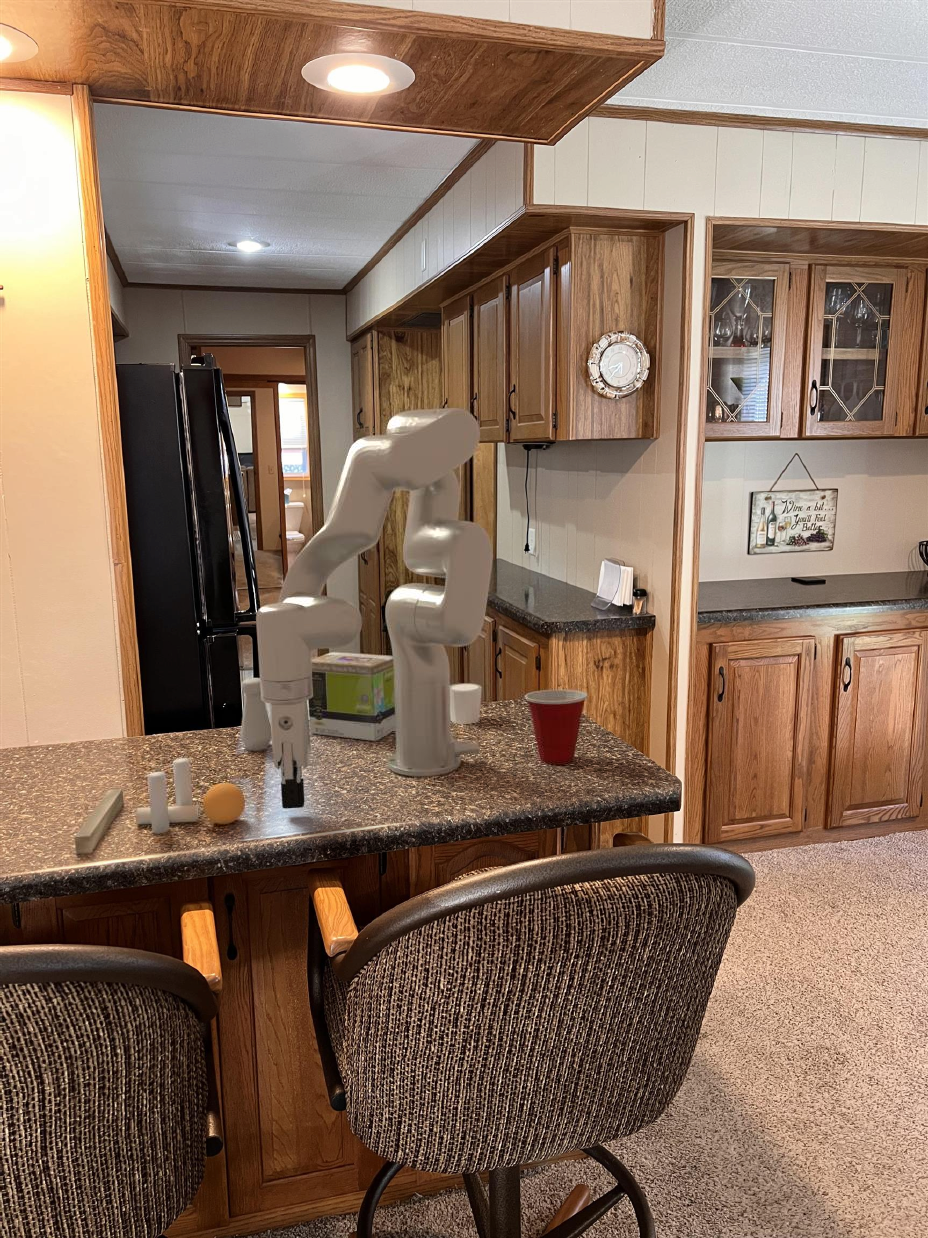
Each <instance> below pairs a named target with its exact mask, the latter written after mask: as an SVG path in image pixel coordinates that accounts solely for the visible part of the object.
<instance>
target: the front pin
mask: <svg viewBox="0 0 928 1238" xmlns="http://www.w3.org/2000/svg"><path fill="white" fill-rule="evenodd" d="M135 813H136V815H135V821H136V824H137V825H152V823H151V811H150V806H148V807H138V808H137V809H136V812H135ZM168 816H169V824H172V823H173V824H174V823H175V824H176V823H193V822H194V823H196V822H197V821H198V819H199V807H198V804H197V805H195V804H193V805H190V806H176V805H173V806H169V805H168Z"/></svg>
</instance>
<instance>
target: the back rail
mask: <svg viewBox="0 0 928 1238" xmlns="http://www.w3.org/2000/svg"><path fill="white" fill-rule="evenodd" d="M123 791H124V790H123V788H115V789H113V788H112V789H108V791H106V794H104V796H103V798H102V799H101V800H100V801H99V803H98V804H97V805H96V807H95V808H94V810H93V811H92V813H91V814H90V815H89V817H88V818H87V819H86V820H85V822H84V824H83V825H82V826H81V827H80V829H79V830H78V832H77V833H76V834H75V836H74V844H75V853H76V855H82V854H83V855H84V854H92V853H93V852H94V850H95V849H96V847H97V845H98V844H99V842H100V841H101V839H102V838H103V836H104V835H105V834H106V831H107V830H108V829H109V827H110V826H111V824H112V823H113V821H114V820H115V818H116V817H117V815H118V814H119V812H120V811H121V809H122V808H123V806H124V805H125V804H124V803H125V802H124V793H123ZM93 849H94V850H93Z"/></svg>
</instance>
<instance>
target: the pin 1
mask: <svg viewBox="0 0 928 1238" xmlns="http://www.w3.org/2000/svg"><path fill="white" fill-rule="evenodd" d="M147 783H148V784H147V785H148V795H149V796H148V797H149V807H150V811H151V823H152V824H151V832H152V833H153V834H156V835H157V834H158V835H159V834H165V833H168V832H169V831H170V823H169V816H168V807H169V805H168V795H167V794H168V792H167V781H166V773H165V772H163V771H155V772H151V773H148V774H147Z"/></svg>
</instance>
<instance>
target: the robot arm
mask: <svg viewBox="0 0 928 1238" xmlns="http://www.w3.org/2000/svg"><path fill="white" fill-rule="evenodd" d="M479 425H480V424H479V422H478V421H477V420H476V418H475V416H474V415H473V414H472V413H471V412H469V411H467V410H465V409H463V408H458V407H447V408H432V409H431V408H429V409H427V408H425V409H411V410H406V411H402V412H398V413H397V414H395V415H393V416H392V417H391V418H390V420H388V424H387V426H386V432H385V433H386V434H375V435H368V436H363V437H361V438H359V439H357V440H356V441H355V442H354V443H352V445H351V447H350V448H349V451H348V453H347V456H346V459H345V462H344V465H343V468H342V470H341V474H340V478H339V480H338V485H337V487H336V490H335V494H334V496H333V499H332V503H331V505H330V508H329V512H328V514H327V518H326V520H325V523H324V525H323V526H322V528H320V530H318V532H317V533H315V535H313V537H312V538H311V539H310V540H309V541H308V542H307V543H306V545H305V546H304V547H302V550H301V551H300V552H299V554H297V555H296V557H295V559H294V560H293V561H292V563H291V565H290V567H289V568H288V570H287V573H286V575H285V578H284V581H283V584H282V588H281V591H280V593H279V597H278V601H277V602H276V603H270V604H266V605H263V606H261V607H260V608H258V610H257V613H256V616H255V620H256V636H257V637H256V638H257V652H258V667H259V678H260V687H261V700H262V701H263V702H265V704H266V703H267V704H269V721H270V726H271V736H272V739H271V745H272V748H271V749H272V756H273V758H272V759H273V764H274V765H273V766H274V768H275V769H277V770H280V774H281V775H280V778H281V782H280V790H281V792H280V793H281V806H282V808H283V809H300V808H301V809H302V808H304V806H305V801H306V800H305V787H304V786H305V785H304V784H305V783H304V778H303V770H302V767H303V769H306V768H307V767H308V766H309V765H310V759H311V753H312V751H311V750H312V746H311V733H310V721H309V705H308V700H309V699H310V698H312V697H313V684H312V664H311V660H312V651H313V650H319V649H320V650H321V649H338V648H342V647H345V646H347V645H349V644H351V643H352V642H354V641H355V640H356V639H357V638H358V637H359V635H360V633H361V631H362V628H363V617H362V614H361V612H360V609H359V608H358V606H356V605H355V604H354V603H353V602H350V601H349V600H347V599H344V598H342V597H336V596H335V597H334V596H328V595H323V594H322V593H323V589H324V587H325V585H326V583H327V582H328V580H329V579H330V577H331V575H332V574H333V573H334V572H335V571H336V570H337V569H338V568H339V567H340V566H341V565H343V564H344V563H346V562H347V561H349V560H351V559H352V558H354V557H356V556H359V555H360V554H363V552H365V551H367V550H369V549H371V548H372V547H374V546H375V545H377V543H378V542H379V540H380V538H381V537H380V536H381V534H382V529H383V526H384V524H385V519H386V517H387V514H388V511H389V508H390V504H391V501H392V498H393V496H394V492H395V491H403V492H404V491H409V499H408V509H407V516H406V523H405V524H406V525H405V530H404V531H405V532H404V535H403V536H404V538H403V546H402V560H403V563H404V565H405V567H406V568H407V569H408V570H409V571H410V572H412V573H414V574H417V575H421V576H426V577H433V578H442V579H445V583H444V586H443V585H437V584H429V583H420V582H415V583H413V582H412V583H411V582H410V583H406V584H402V585H400V586H398V587H397V588H395V589H394V590H393V591H392V592H391V593H390V595H389V596H388V598H387V601H386V604H385V622H386V627H387V632H388V635H389V639H390V640H389V641H390V645H391V651H392V652H391V653H392V656H393V668H394V699H395V726H396V730H395V746H396V748H395V749H396V750H395V751H396V752H394V753H392V754H391V755H390V756H389V757H388V759H387V767H388V768H389V770H390V771H392V772H393V773H396V774H398V775H403V776H409V777H434V776H438V775H439V776H441V775H445V774H448V773H450V772H453V771H454V770H456V769H458V768H459V767H460V766H461V764H462V763H461V762H462V761H461V760H462V759H461V755H478V754H479V752H480V751H479V749H480V748H479V743H478V742H471V741H470V740H469V739H468V740H467V739H466V740H459V741H458V740H457V739H454V738H453V734H452V728H451V727H452V726H451V725H452V723H451V714H450V686H451V682H450V680H451V678H450V677H451V674H450V673H451V671H450V663H449V662H450V661H449V657H448V654H447V651H446V649H445V646H451V647H457V648H458V647H459V648H460V647H466V646H469V645H471V644H472V643H473V642H475V641H476V640H477V638H478V637H479V636H480V633H481V631H482V629H483V625H484V622H485V617H486V612H487V604H488V596H489V590H490V582H491V575H492V569H493V568H492V567H493V560H494V556H493V553H494V551H493V544H492V541H491V539H490V535H489V533H488V532H487V530H486V529H485V528H484V527H483V526H481V525H480V524H478V523H476V522H473V521H469V520H468V521H467V520H459V515H460V514H459V512H460V502H461V489H460V488H461V487H460V484H459V480H458V478H457V475H456V474H455V470H456V469H457V468H458V467H461V466H462V465H464V464H465V463H467V462H468V461H469V460H470V459H471V458H472V457H473V456H474V455H475V453H476V452H477V449H478V446H479V445H480V436H481V430H480V426H479Z"/></svg>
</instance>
